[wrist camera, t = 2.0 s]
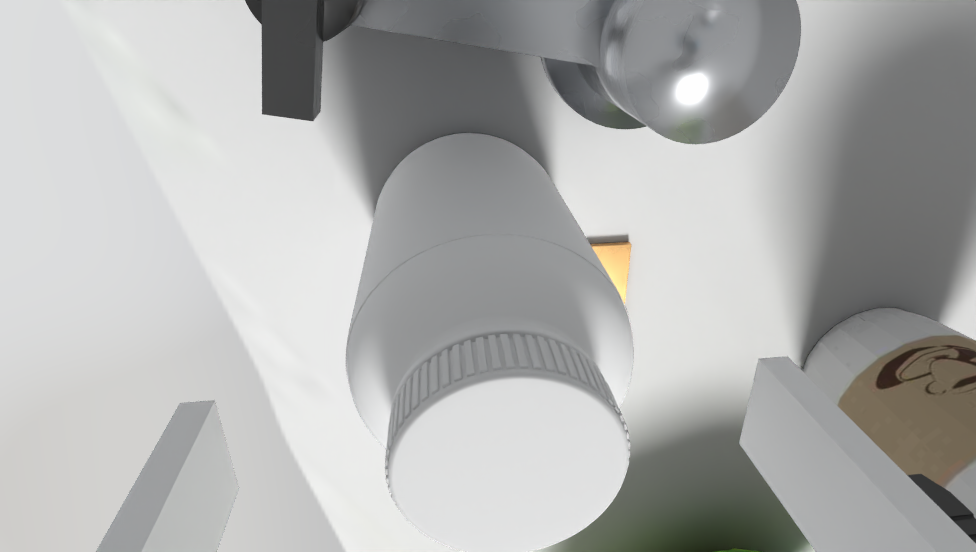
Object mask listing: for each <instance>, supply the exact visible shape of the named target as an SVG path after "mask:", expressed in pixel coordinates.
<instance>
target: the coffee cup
mask: <svg viewBox="0 0 976 552" xmlns="http://www.w3.org/2000/svg"><path fill="white" fill-rule="evenodd" d="M803 372H804V373H805V374H806V375H807V376H808V377H809V378H810V379H811V380H812V381H813V382H814V383H815V384H816V385H817V386H818V387H819V388H820V389H821V390H822V391H823V392H824V393H825V394H826V395H827V396H828V397H829V398H830V399H831V400H832V401H833V402H834V403H835V404H836V405H837V406H838V407H839V408H840V409H841V410H842V411H843V412H844V413H845V414H846V415H847V416H848V417H849V418H850V419H851V420H852V421H853V422H854V423H855V424H856V425H857V426H858V427H859V428H860V429H861V430H862V431H863V432H864V433H865V434H866V435H867V436H868V437H869V438H870V439H871V440H872V441H873V442H874V443H875V444H876V445H877V446H878V447H879V448H880V449H881V450H882V451H883V452H884V453H885V454H886V455H887V456H888V457H889V458H890V459H891V460H892V461H893V462H894V463H895V464H896V465H897V466H898V467H899V468H900V469H901V470H902V471H903V472H904V473H905V474H906V475H913V474H922V475H924V476H925V477H927V478H929V479H930V480H932V481H934V482H935V483H937V484H938V485H940V486H942V487H943V488H945V489H946V490H948V491H950V492H951V493H952V494H953V495H954V496H955V497H956V498H957V499H958V500H959V501H960V502H962V503H963V504H964V505H965V506H966V507H967V508H968V509H969V510H970V511H971V512H972V513H973V514H974V517H975V518H976V340H973V339H971V338H969V337H967V336H965V335H963V334H961V333H959V332H957V331H955V330H953V329H951V328H949V327H947V326H945V325H943V324H941V323H939V322H936V321H934V320H932V319H930V318H928V317H925V316H922V315H919V314H915V313H912V312H907V311H904V310H901V309H898V308H875V309H871V310H868V311H864V312H861V313H858V314H855V315H853V316H851V317H849V318H848V319H846V320H844V321H842V322H840V323H839V324H837V325H835V326H834V327H833V328H832V329H831V330H830V331H829V332H827V333H826V334H825V335H824V336H823V337H822V338H821V339H820V340H819V341H818V342H817V344H816V345H815V346H814V348H813V349H812V351H811V352H810V354H809V355H808V357H807V360H806V362H805V365H804V368H803Z"/></svg>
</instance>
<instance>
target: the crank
mask: <svg viewBox="0 0 976 552" xmlns="http://www.w3.org/2000/svg"><path fill="white" fill-rule="evenodd" d="M245 1H246V3H247V5H248V7H249V9H250V10H251V12H252V13H253V15H254V16H255V17H256V19H257V20H258V21H259V22H260V23H261V24H262V114H265V115H272V116H279V117H287V118H294V119H301V120H308V121H314V119H315V118H316V117H317V115H318V114H319V113H320V109H321V82H322V56H323V42H324V41H327V40H329V39H331V38H333V37H334V36H336V35H337V34H339V33H340V32H342V31H343V30H344V29H346V28H347V27H349V26H350V25H353V26H359V27H365V28H371V29H377V30H383V31H389V32H395V33H401V34H407V35H413V36H419V37H425V38H431V39H437V40H443V41H449V42H455V43H461V44H467V45H473V46H479V47H485V48H491V49H497V50H503V51H509V52H515V53H521V54H527V55H533V56H539V57H545V58H551V59H557V60H563V61H569V62H575V63H577V65H578V68H579V71H580V73H581V75H582V77H583V78H584V80H585V81H586V82H587V84H588V85H589V86H590V87H591V88H592V89H593V90H594V91H595V92H596V93H597V94H599V95H600V96H601V97H603V98H604V99H606V100H608V101H609V102H611V103H612V104H614V105H615V106H617V107H618V108H620V109H621V110H623V111H624V112H626V113H627V114H629V115H631V116H632V117H634V118H635V119H637V120H638V121H640V122H641V123H643V124H644V125H646V126H647V127H649V128H650V129H652V130H654V131H655V132H657V133H658V134H660V135H662V136H664V137H665V138H668V139H671V140H673V141H676V142H681V143H686V144H706V143H711V142H717V141H720V140H723V139H726V138H729V137H731V136H733V135H735V134H737V133H739V132H741V131H742V130H744V129H746V128H747V127H749V126H750V125H751V124H753V123H754V122H755V121H757V120H758V119H759V118H760V117H761V116H762V115H763V114H764V113H765V112H767V110H768V109H769V108H770V107H771V106H772V105H773V104H774V102H775V101H776V100H777V98H778V97H779V95H780V94H781V93H782V91H783V89H784V87H785V86H786V84H787V82H788V80H789V78H790V76H791V73H792V71H793V69H794V66H795V63H796V59H797V56H798V51H799V46H800V37H801V21H800V14H799V8H798V4H797V1H796V0H245Z"/></svg>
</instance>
